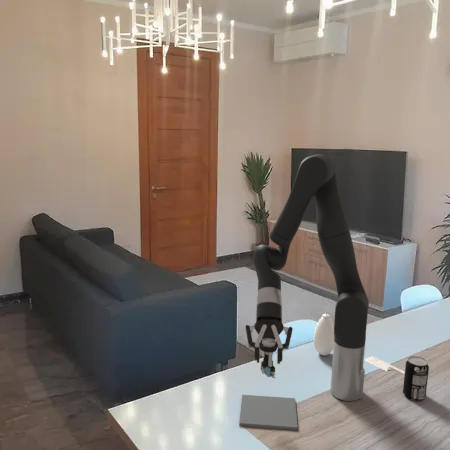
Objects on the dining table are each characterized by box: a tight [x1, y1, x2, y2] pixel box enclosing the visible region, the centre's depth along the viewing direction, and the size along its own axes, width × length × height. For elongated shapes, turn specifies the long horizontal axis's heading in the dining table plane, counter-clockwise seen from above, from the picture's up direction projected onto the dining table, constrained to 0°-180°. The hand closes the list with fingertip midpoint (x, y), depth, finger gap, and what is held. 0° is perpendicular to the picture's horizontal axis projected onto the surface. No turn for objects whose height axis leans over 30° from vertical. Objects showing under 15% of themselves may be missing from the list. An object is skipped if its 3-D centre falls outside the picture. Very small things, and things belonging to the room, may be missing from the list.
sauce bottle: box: [312, 307, 334, 356], centre depth 168 cm, size 8×8×18 cm
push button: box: [259, 338, 278, 379], centre depth 131 cm, size 7×5×10 cm
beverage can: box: [402, 355, 430, 402], centre depth 143 cm, size 7×7×12 cm
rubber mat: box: [238, 394, 299, 431], centre depth 135 cm, size 16×14×1 cm
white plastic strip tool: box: [364, 355, 405, 376], centre depth 161 cm, size 5×15×1 cm, turn 36°
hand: (268, 362), depth 130 cm, fingers closed on push button, 5 cm apart
